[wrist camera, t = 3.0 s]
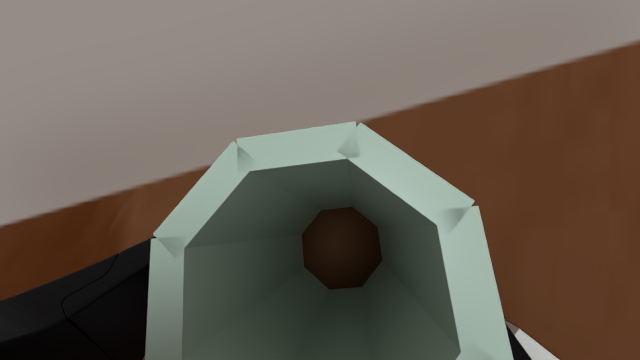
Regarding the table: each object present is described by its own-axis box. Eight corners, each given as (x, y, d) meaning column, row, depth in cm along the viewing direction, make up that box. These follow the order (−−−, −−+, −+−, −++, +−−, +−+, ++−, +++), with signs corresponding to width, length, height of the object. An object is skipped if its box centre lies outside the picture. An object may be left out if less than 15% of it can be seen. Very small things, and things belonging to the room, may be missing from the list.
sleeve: (349, 325, 15) (333, 634, 4) (272, 253, 17) (88, 308, 5) (414, 240, 16) (584, 275, 4) (333, 177, 17) (290, 74, 6)
